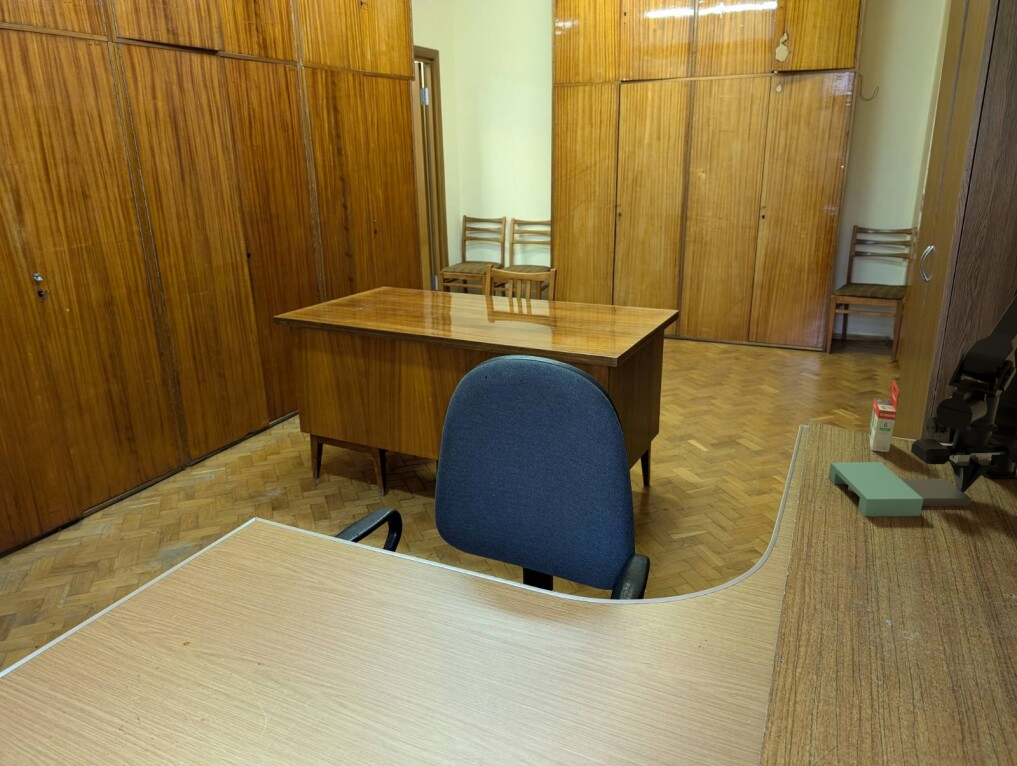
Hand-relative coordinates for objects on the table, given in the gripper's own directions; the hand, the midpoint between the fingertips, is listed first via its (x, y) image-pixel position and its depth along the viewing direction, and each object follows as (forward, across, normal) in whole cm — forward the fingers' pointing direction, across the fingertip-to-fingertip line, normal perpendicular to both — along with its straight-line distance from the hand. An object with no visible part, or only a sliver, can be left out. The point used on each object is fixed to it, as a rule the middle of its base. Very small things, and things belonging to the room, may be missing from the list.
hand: (960, 491), depth 131 cm
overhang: (+1, +17, 0) cm, 17 cm away
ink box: (+1, +4, -24) cm, 24 cm away
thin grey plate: (+1, +6, 0) cm, 6 cm away
